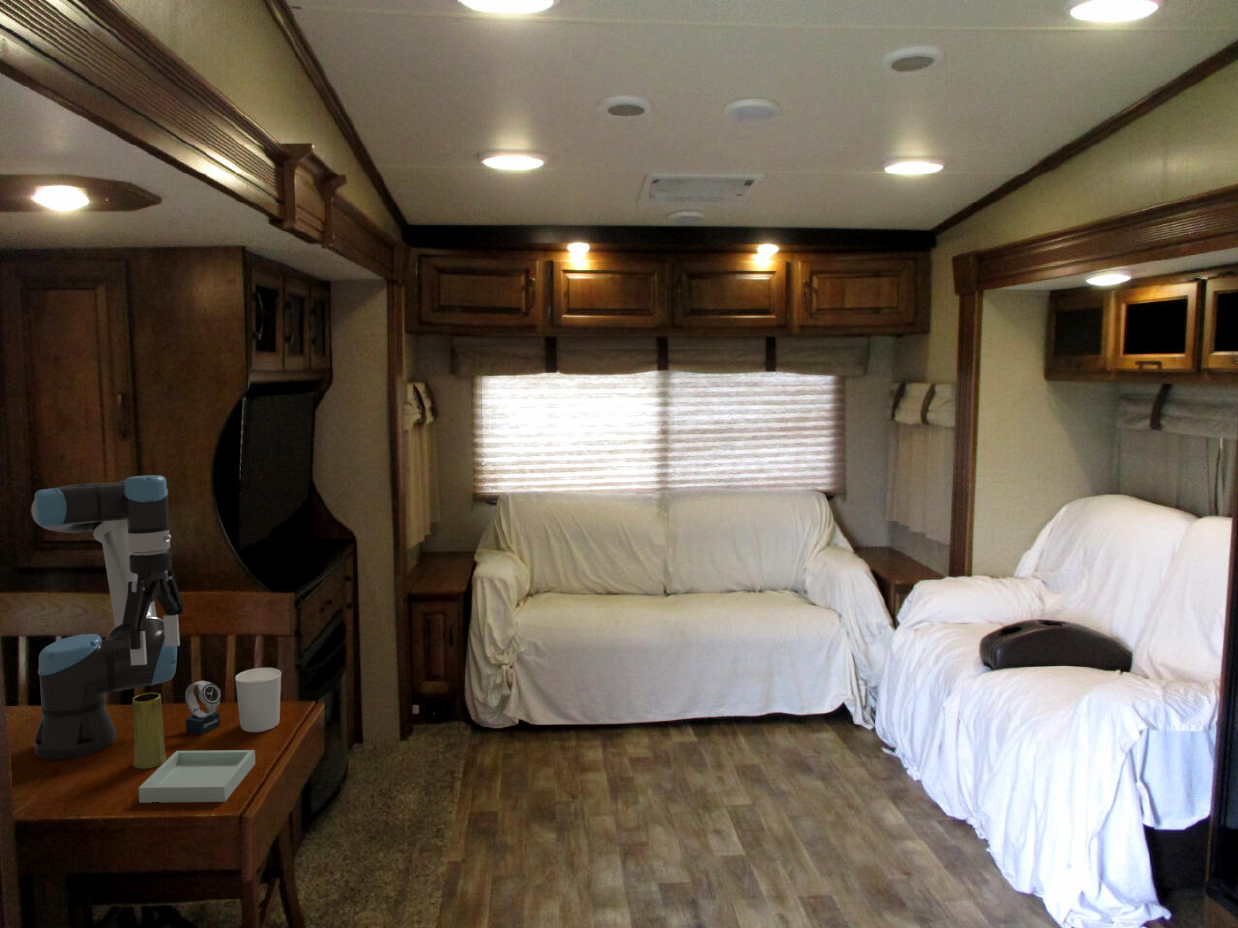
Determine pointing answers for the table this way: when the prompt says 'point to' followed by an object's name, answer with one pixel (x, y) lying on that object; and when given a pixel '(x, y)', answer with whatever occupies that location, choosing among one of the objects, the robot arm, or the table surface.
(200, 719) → the watch
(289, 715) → the table surface
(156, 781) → the tray
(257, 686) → the candle holder
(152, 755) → the vase
